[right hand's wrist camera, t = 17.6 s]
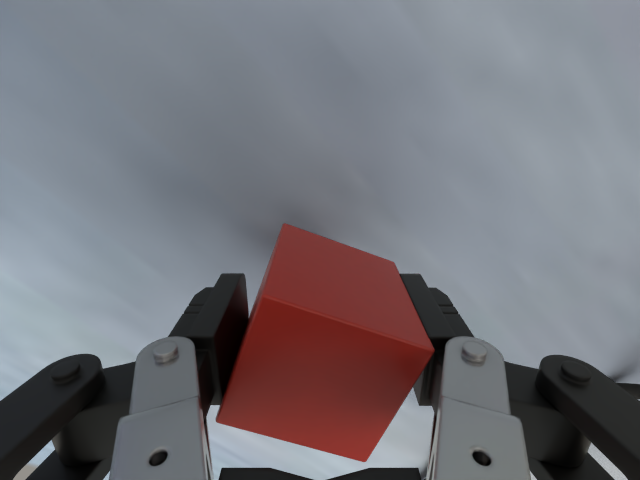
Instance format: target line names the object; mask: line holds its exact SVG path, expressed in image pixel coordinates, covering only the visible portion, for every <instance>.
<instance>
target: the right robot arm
mask: <svg viewBox="0 0 640 480" xmlns="http://www.w3.org/2000/svg"><path fill="white" fill-rule="evenodd" d="M399 275H400V277H401V279H402V281H403V283H404V285H405V288H406V290H407V292H408V294H409V296H410V298H411V301H412V303H413V305H414V307H415V309H416V311H417V314H418V316H419V318H420V320H421V322H422V325H423V327H424V329H425V331H426V333H427V335H428V338H429V339H430V341H431V343H432V345H433V347H434V354H433V355H432V357H431V359H430V360H429V362H428V363H427V365H426V367H425V368H424V370H423V371H422V373H421V375H420V376H419V378H418V379H417V381H416V383H415V384H414V386H413V388H414V391H415V394H416V397H417V400H418V403H419V406H432V407H433V410H434V419H433V425H432V433H431V442H430V451H429V459H428V468H427V477H426V478H425V479H424V480H531V476H530V471H531V472H532V474H533V475H534V476H535V477H536V479H537V480H614V479H613V478H612V477H611V476H610V475H609V474H608V473H607V472H606V471H605V470H604V468H603V467H602V466H601V465H600V464H599V463H598V462H597V461H596V460H595V459H594V458H593V457H592V456H591V455H590V454H589V453H588V452H587V451H588V449H589V447H590V444H591V442H592V443H593V444H594V445H595V446H596V447H597V448H598V449H599V450H600V451H601V452H602V453H603V454H604V455H605V456H606V457H607V458H608V459H609V460H610V461H611V462H612V463H613V464H614V465H615V466H616V467H617V468H618V469H619V470H620V471H621V472H622V473H623V474H624V475H625V476H626V477H627V479H628V480H640V401H639V400H637V399H640V384H629V383H615V382H614V381H612V380H611V379H610V378H608V377H607V376H606V375H604V374H603V373H602V372H600V371H599V370H597V369H596V368H594V367H593V366H591V365H589V364H587V363H585V362H583V361H581V360H578V359H576V358H572V357H568V356H563V355H550V356H546V357H544V358H543V359H542V360H541V363H540V366H539V369H535V368H530V367H526V366H521V365H516V364H512V363H509V362H506V361H504V359H503V356H502V354H501V353H500V352H499V350H497V349H496V348H495V347H494V346H493V345H491V344H489V343H488V342H485V341H483V340H480V339H477V338H475V337H474V336H473V334H472V333H471V331H470V330H469V328H468V327H467V325H466V324H465V322H464V321H463V319H462V318H461V316H460V315H459V314H458V311H457V310H456V308H455V307H453V304H452V302H451V301H450V299H449V298H448V296H447V295H445V294H444V293H443V292H441V291H440V290H438V289H437V288H428V286H427V285H426V283H425V281H424V280H423V278H422V276H421V275H420V274H399ZM248 319H249V313H248V301H247V290H246V279H245V275H244V274H243V273H223V274H221V276H220V277H219V279H218V281H217V283H216V284H215V286H214V287H206V288H204V289H203V290H202V291H200V292H199V293H197V294H196V295H195V296H194V297H193V299H192V301H191V302H190V304H189V306H188V307H187V308H186V310H185V311H184V314H182V316H181V318H180V319H179V321H178V322H177V324H176V325H175V327H174V328H173V330H172V331H171V333H170V335H169V336H168V337H166V338H163V339H160V340H157V341H155V342H152V343H151V344H149V345H147V346H146V347H145V348H144V349H143V350H141V352H140V353H139V354H138V356H137V359H136V361H135V362H132V363H128V364H123V365H119V366H114V367H109V368H105V369H103V368H102V364H101V361H100V359H99V358H98V357H97V356H95V355H91V354H78V355H73V356H69V357H66V358H63V359H60V360H58V361H56V362H54V363H52V364H50V365H48V366H47V367H45V368H44V369H42V370H41V371H40V372H38V373H37V374H36V375H34V376H33V377H32V378H30V379H29V380H28V381H26V382H25V383H24V384H22V385H21V386H20V387H18V388H17V389H16V390H14V391H13V392H12V393H11V394H9V395H8V396H7V397H5V398H4V399H3V400H1V401H0V480H13V478H14V477H15V476H16V474H17V473H18V472H19V471H20V470H21V469H22V468H23V467H24V466H25V465H26V464H27V463H28V462H29V461H30V460H31V459H32V458H33V457H34V456H35V455H36V454H37V453H38V452H39V451H40V450H41V449H42V448H43V447H44V446H45V445H46V444H47V443H48V442H50V441H51V440H52V442H53V444H54V447H55V450H54V451H53V452H52V453H51V454H50V455H49V456H48V457H47V458H46V459H45V460H44V461H43V462H42V463H41V464H40V465H39V466H38V467H37V468H36V470H35V471H34V472H33V473H32V474H31V475H30V476H29V477H28V478H27V479H26V480H103V479H104V477H105V476H106V475H107V474H108V472H109V471H110V476H109V480H214V477H213V468H212V459H211V451H210V442H209V433H208V425H207V419H206V416H207V413H208V410H209V408H210V405H220V404H221V402H222V399H223V396H224V393H225V390H226V387H227V384H228V381H229V377H230V374H231V371H232V368H233V365H234V362H235V359H236V356H237V353H238V350H239V347H240V344H241V341H242V338H243V335H244V332H245V329H246V326H247V323H248ZM219 480H313V479H309V478H305V477H302V476H298V475H294V474H291V473H287V472H283V471H280V470H276V469H272V468H222V469H221V473H220V477H219ZM327 480H421V477H420V473H419V469H418V468H368V469H364V470H360V471H357V472H353V473H349V474H346V475H342V476H338V477H335V478H331V479H327Z"/></svg>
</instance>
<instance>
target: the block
mask: <svg viewBox="0 0 640 480" xmlns="http://www.w3.org/2000/svg"><path fill="white" fill-rule="evenodd" d="M433 354H434V347H433V345H432V343H431V341H430V339H429V338H428V335H427V333H426V331H425V329H424V327H423V325H422V322H421V320H420V318H419V316H418V314H417V311H416V309H415V307H414V305H413V303H412V301H411V298H410V296H409V294H408V292H407V290H406V288H405V285H404V283H403V281H402V279H401V277H400V275H399V272H398V270H397V267H396V265H395V263H394V262H392V261H389V260H386V259H384V258H381V257H378V256H375V255H372V254H370V253H367V252H364V251H361V250H358V249H356V248H353V247H350V246H347V245H344V244H342V243H339V242H336V241H333V240H330V239H328V238H325V237H322V236H319V235H316V234H314V233H311V232H308V231H305V230H302V229H300V228H297V227H294V226H291V225H288V224H286V223H284V224H283V225H282V228H281V230H280V233H279V236H278V239H277V241H276V244H275V247H274V250H273V253H272V255H271V258H270V261H269V264H268V266H267V269H266V272H265V275H264V277H263V280H262V283H261V286H260V288H259V291H258V294H257V297H256V299H255V302H254V305H253V308H252V310H251V313H250V316H249V319H248V323H247V326H246V329H245V332H244V335H243V338H242V341H241V344H240V347H239V350H238V353H237V356H236V359H235V362H234V365H233V368H232V371H231V374H230V377H229V381H228V384H227V387H226V390H225V393H224V396H223V399H222V402H221V404H220V407H219V410H218V413H217V416H216V422H217V423H221V424H224V425H228V426H232V427H235V428H239V429H243V430H247V431H250V432H254V433H258V434H261V435H265V436H269V437H273V438H276V439H280V440H284V441H287V442H291V443H295V444H299V445H302V446H306V447H310V448H313V449H317V450H321V451H325V452H328V453H332V454H336V455H339V456H343V457H347V458H351V459H354V460H358V461H362V462H366V461H367V459H368V458H369V456H370V454H371V453H372V451H373V450H374V448H375V446H376V445H377V443H378V442H379V440H380V438H381V437H382V435H383V434H384V432H385V430H386V429H387V427H388V426H389V424H390V423H391V421H392V419H393V418H394V416H395V415H396V413H397V411H398V410H399V408H400V407H401V405H402V403H403V402H404V400H405V399H406V397H407V395H408V394H409V392H410V391H411V389H412V387H413V386H414V384H415V383H416V381H417V379H418V378H419V376H420V375H421V373H422V371H423V370H424V368H425V367H426V365H427V363H428V362H429V360H430V359H431V357H432V355H433Z"/></svg>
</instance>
